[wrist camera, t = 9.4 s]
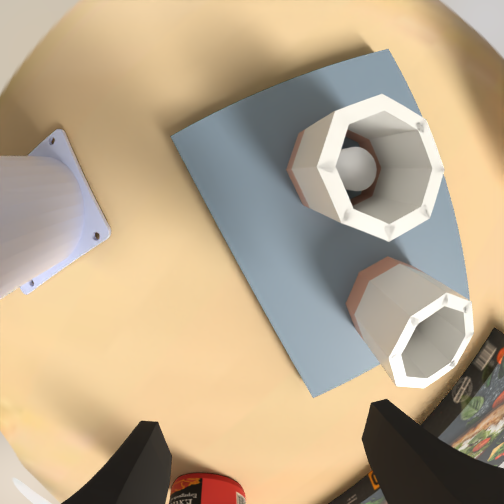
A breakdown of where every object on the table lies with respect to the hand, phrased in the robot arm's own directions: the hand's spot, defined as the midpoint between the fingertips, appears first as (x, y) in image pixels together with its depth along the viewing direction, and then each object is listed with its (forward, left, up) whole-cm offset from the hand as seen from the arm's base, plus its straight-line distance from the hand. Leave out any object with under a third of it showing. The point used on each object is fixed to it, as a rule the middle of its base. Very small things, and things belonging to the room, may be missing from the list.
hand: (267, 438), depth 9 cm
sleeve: (+8, +6, -9) cm, 13 cm away
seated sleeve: (+8, -3, -9) cm, 12 cm away
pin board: (+8, +2, -10) cm, 13 cm away
